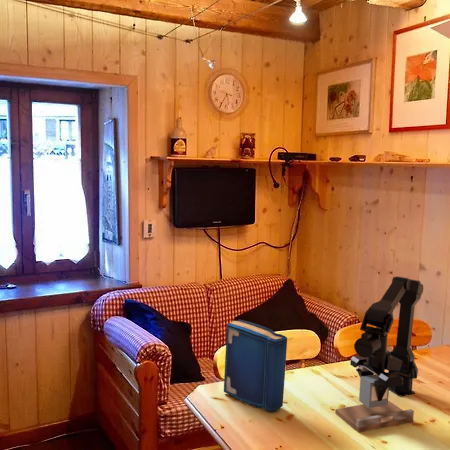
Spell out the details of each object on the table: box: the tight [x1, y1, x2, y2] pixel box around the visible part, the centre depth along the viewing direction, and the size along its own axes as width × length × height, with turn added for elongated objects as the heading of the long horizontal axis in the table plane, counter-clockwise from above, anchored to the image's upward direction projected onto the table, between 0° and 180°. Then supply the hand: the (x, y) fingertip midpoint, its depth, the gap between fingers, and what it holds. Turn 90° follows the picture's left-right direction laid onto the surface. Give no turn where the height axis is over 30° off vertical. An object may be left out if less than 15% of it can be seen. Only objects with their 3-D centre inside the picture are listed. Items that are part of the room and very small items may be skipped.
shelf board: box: [334, 400, 415, 433], centre depth 160 cm, size 20×12×4 cm, turn 111°
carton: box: [358, 374, 390, 408], centre depth 160 cm, size 5×7×8 cm
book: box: [223, 318, 288, 413], centre depth 168 cm, size 22×7×25 cm, turn 47°
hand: (373, 396), depth 160 cm, fingers closed on carton, 5 cm apart
